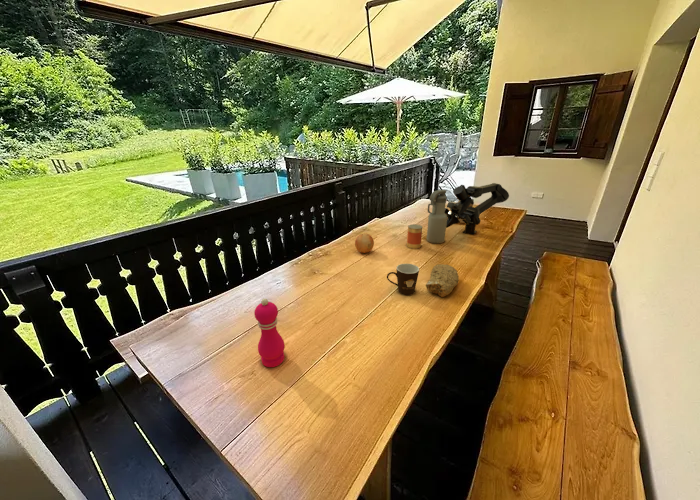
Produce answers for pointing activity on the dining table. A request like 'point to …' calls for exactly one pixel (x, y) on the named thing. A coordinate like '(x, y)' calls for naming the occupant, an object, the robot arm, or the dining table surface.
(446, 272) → the rock
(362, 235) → the onion
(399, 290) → the coffee mug
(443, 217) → the water bottle
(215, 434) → the dining table surface
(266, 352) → the pepper mill
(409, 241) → the tin can
